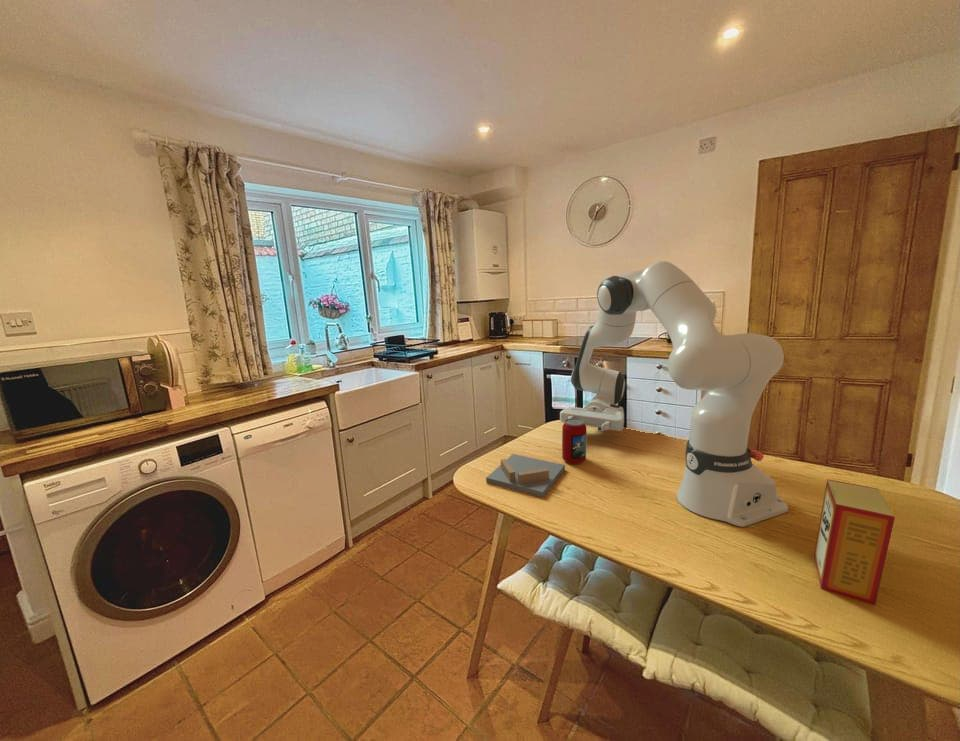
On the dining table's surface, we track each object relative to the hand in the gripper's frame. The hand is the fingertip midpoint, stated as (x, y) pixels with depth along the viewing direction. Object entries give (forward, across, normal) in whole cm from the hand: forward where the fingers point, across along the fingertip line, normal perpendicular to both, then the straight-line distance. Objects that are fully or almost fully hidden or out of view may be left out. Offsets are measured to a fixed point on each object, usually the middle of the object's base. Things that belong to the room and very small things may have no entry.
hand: (584, 426), depth 122 cm
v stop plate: (+25, -8, +7) cm, 27 cm away
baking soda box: (+33, +55, +7) cm, 64 cm away
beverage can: (+10, 0, +7) cm, 12 cm away
